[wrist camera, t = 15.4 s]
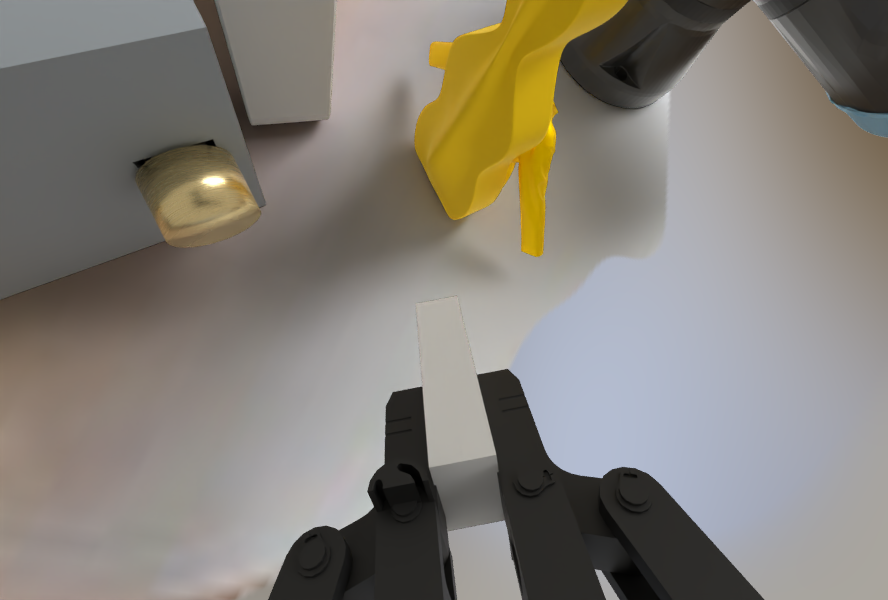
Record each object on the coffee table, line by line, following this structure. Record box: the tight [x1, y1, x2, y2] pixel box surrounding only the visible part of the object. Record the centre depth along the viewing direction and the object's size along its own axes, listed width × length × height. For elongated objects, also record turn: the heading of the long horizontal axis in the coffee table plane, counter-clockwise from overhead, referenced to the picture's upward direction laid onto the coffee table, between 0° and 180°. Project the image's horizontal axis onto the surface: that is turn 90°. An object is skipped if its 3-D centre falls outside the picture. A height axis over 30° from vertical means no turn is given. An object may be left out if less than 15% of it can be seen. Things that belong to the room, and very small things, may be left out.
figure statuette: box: [414, 0, 628, 257], centre depth 22 cm, size 18×8×22 cm, turn 29°
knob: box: [135, 142, 261, 248], centre depth 20 cm, size 4×9×4 cm, turn 29°
